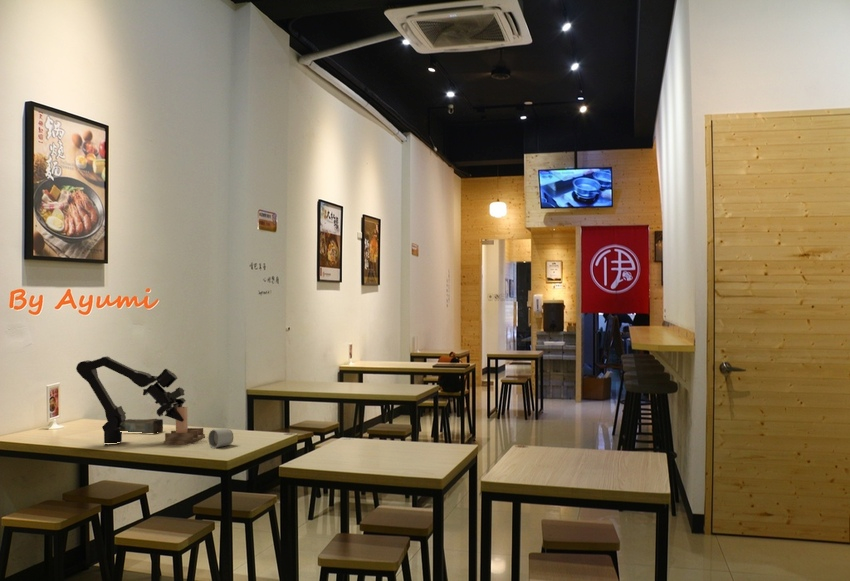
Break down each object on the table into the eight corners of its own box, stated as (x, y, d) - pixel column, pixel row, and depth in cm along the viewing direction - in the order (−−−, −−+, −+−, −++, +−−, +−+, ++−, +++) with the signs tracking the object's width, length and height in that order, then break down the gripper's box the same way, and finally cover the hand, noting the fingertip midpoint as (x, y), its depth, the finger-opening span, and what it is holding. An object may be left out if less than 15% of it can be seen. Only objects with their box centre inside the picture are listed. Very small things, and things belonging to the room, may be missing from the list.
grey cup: (235, 445, 294) (234, 427, 294) (218, 449, 288) (218, 430, 288) (220, 443, 301) (219, 425, 301) (203, 446, 294) (203, 428, 294)
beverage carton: (128, 431, 335) (127, 417, 335) (164, 431, 332) (163, 418, 332) (117, 434, 327) (117, 420, 328) (154, 435, 324) (154, 420, 324)
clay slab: (175, 436, 304) (175, 408, 304) (178, 435, 307) (178, 407, 307) (184, 436, 304) (184, 407, 304) (187, 435, 307) (187, 406, 307)
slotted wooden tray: (163, 443, 301) (163, 434, 301) (179, 436, 317) (178, 427, 317) (190, 443, 300) (190, 434, 300) (204, 436, 316) (204, 427, 316)
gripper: (163, 384, 297) (188, 410, 296) (181, 380, 315) (205, 404, 314) (145, 403, 297) (170, 429, 296) (164, 397, 316) (188, 421, 315)
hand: (184, 420), depth 305 cm, fingers open, 3 cm apart
